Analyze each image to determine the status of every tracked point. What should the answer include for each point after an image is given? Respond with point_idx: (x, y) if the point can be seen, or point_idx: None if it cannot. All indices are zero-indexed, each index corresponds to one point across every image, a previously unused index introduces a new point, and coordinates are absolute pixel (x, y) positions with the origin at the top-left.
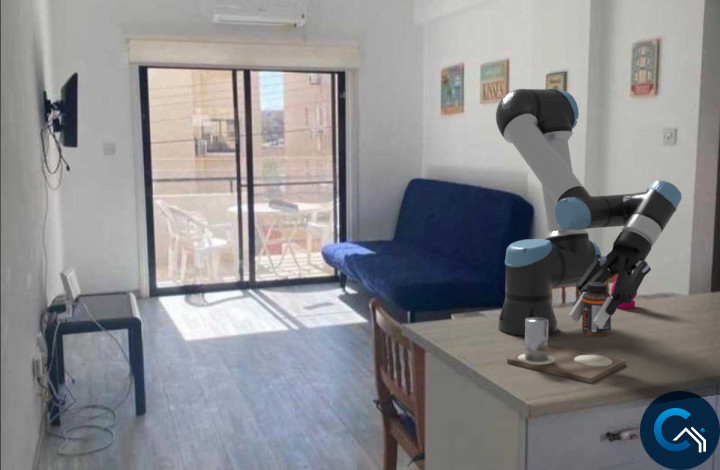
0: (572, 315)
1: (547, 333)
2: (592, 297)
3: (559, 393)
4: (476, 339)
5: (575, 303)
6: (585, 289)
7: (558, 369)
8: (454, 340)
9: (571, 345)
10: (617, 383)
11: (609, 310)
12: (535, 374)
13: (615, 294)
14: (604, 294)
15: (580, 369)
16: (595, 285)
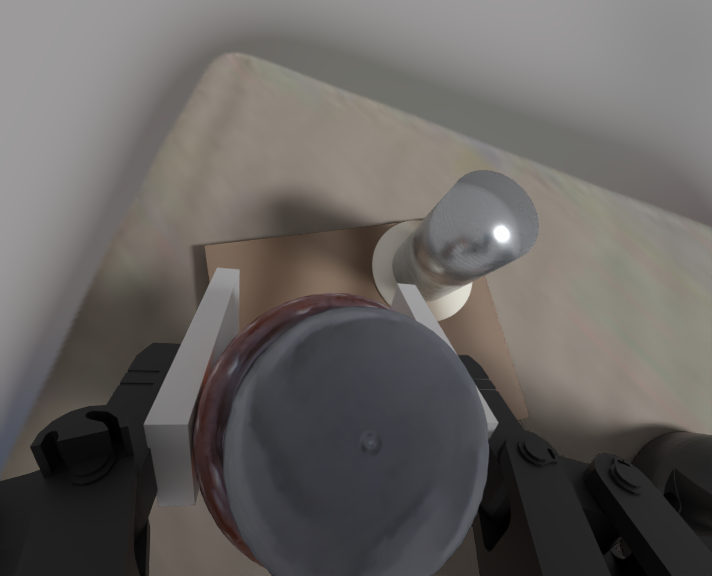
0: (396, 291)
1: (430, 247)
2: (299, 302)
3: (217, 134)
4: (651, 313)
5: (464, 358)
6: (511, 454)
7: (320, 241)
8: (660, 262)
9: None
10: (146, 311)
11: (149, 350)
12: (354, 203)
13: (45, 437)
14: (227, 414)
15: (279, 291)
16: (308, 325)
